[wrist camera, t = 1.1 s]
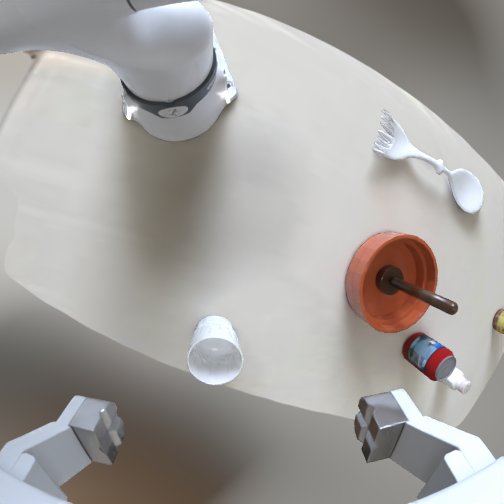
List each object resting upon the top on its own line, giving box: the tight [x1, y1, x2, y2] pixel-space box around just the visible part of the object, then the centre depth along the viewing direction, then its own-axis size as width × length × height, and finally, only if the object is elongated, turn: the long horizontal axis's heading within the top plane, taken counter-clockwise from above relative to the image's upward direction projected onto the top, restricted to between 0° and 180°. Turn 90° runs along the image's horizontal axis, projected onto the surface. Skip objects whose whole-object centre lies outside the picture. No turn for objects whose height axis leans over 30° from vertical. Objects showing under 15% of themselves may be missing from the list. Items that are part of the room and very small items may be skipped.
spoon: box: [372, 110, 484, 213], centre depth 47 cm, size 9×32×4 cm, turn 71°
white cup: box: [187, 316, 244, 385], centre depth 43 cm, size 8×8×10 cm
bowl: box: [346, 232, 438, 333], centre depth 48 cm, size 17×17×6 cm
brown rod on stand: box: [375, 265, 458, 315], centre depth 41 cm, size 5×5×19 cm
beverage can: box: [403, 333, 456, 381], centre depth 48 cm, size 7×7×12 cm
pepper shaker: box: [442, 368, 471, 394], centre depth 53 cm, size 4×4×10 cm
